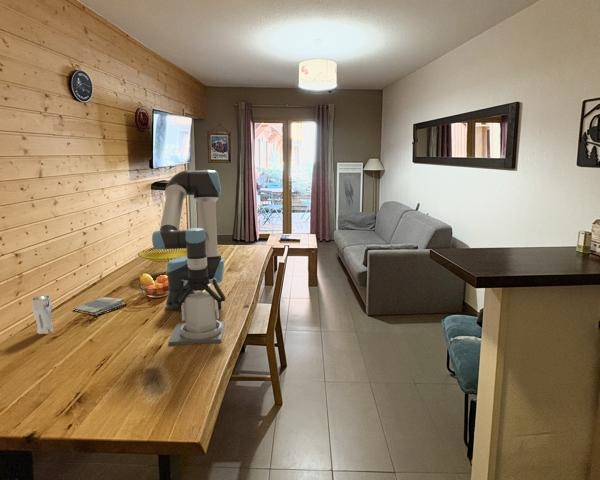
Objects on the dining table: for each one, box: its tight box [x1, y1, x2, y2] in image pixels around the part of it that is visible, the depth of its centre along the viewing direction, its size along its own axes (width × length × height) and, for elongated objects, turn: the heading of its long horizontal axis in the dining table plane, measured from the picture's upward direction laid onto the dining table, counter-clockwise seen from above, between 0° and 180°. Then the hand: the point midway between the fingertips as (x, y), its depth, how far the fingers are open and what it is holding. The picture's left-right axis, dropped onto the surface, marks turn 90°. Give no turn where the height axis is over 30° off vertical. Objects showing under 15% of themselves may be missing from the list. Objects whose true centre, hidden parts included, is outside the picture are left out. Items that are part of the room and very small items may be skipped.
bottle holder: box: [168, 319, 226, 346], centre depth 179 cm, size 20×19×3 cm
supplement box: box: [184, 291, 217, 334], centre depth 177 cm, size 9×9×15 cm
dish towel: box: [73, 296, 128, 315], centre depth 212 cm, size 19×18×3 cm
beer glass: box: [31, 294, 55, 334], centre depth 182 cm, size 7×7×15 cm
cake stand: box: [137, 246, 187, 276], centre depth 267 cm, size 40×40×15 cm
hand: (201, 318), depth 178 cm, fingers open, 13 cm apart
